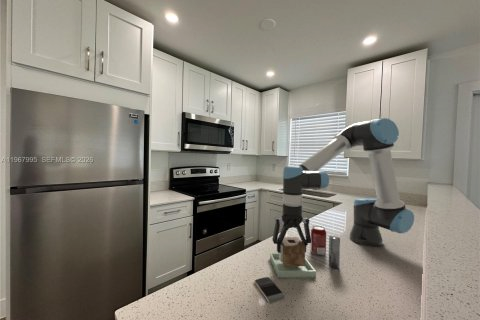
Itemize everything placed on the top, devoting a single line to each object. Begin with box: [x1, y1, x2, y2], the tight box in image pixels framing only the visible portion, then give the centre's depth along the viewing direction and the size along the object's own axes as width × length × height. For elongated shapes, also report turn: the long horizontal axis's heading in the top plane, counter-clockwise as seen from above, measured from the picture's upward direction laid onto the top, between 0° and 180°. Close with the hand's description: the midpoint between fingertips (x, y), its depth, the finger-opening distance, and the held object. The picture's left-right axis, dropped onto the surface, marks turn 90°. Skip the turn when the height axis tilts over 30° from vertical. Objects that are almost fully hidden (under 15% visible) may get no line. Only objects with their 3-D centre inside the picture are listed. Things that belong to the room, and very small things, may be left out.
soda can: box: [310, 225, 327, 256], centre depth 92 cm, size 7×7×12 cm
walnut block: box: [281, 236, 306, 267], centre depth 79 cm, size 8×8×8 cm
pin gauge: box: [328, 235, 341, 271], centre depth 80 cm, size 4×4×12 cm
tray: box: [269, 252, 317, 280], centre depth 79 cm, size 14×14×2 cm
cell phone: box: [253, 276, 285, 304], centre depth 65 cm, size 6×11×1 cm, turn 21°
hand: (291, 259), depth 79 cm, fingers closed on walnut block, 8 cm apart
